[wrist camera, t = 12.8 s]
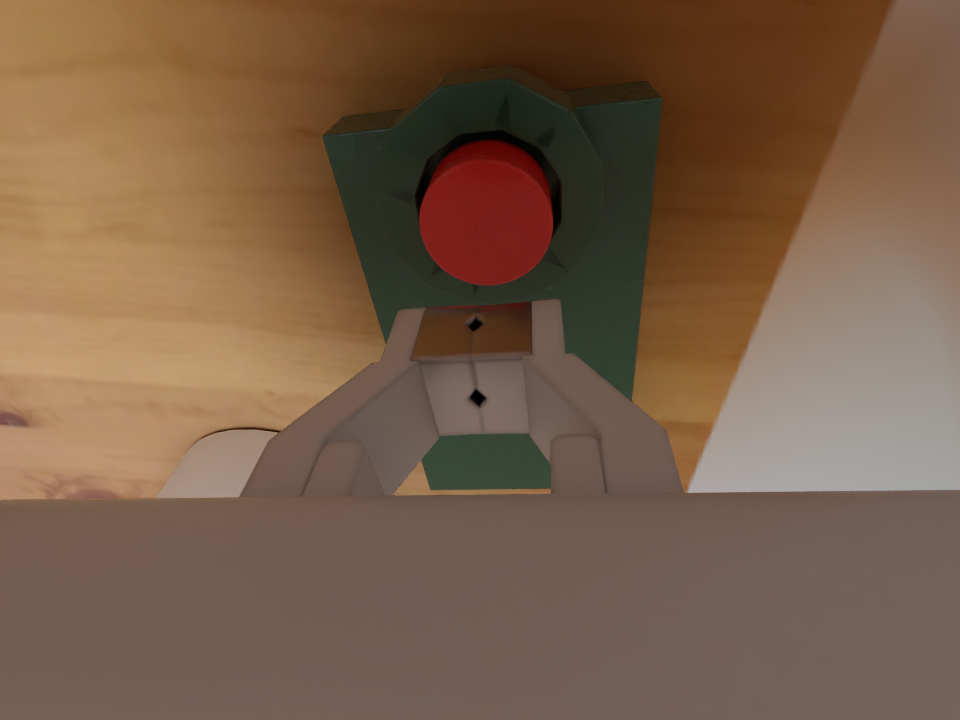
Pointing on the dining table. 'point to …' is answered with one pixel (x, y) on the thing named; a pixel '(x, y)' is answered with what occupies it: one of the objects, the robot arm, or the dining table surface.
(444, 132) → the button housing
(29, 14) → the dining table surface
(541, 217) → the button
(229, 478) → the white cylinder
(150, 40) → the dining table surface
